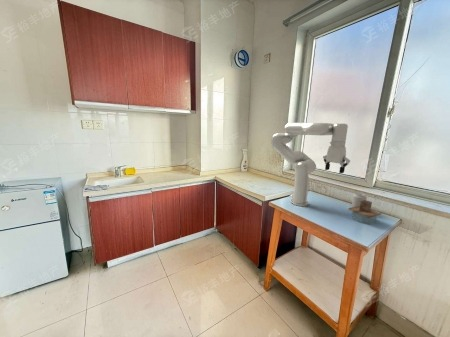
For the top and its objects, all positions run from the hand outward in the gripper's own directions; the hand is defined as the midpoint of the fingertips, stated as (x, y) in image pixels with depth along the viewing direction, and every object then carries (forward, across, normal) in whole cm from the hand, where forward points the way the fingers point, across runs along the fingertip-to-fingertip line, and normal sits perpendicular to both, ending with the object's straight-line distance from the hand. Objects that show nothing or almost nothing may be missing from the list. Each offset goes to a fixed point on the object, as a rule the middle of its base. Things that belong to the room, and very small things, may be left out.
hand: (334, 171), depth 119 cm
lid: (+23, +15, +12) cm, 30 cm away
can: (+28, +5, +23) cm, 37 cm away
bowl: (+28, +15, +12) cm, 34 cm away
